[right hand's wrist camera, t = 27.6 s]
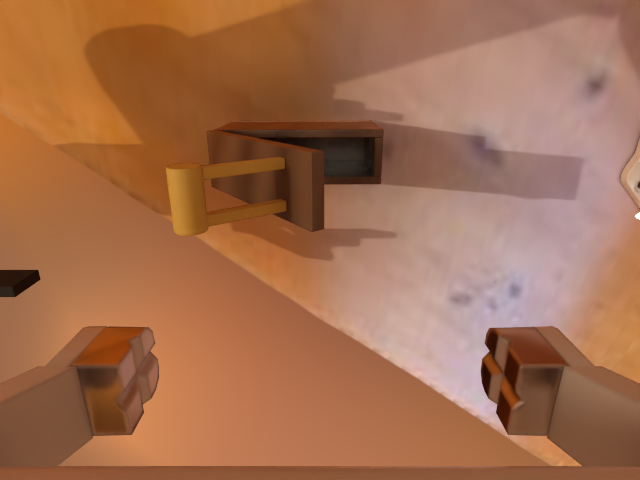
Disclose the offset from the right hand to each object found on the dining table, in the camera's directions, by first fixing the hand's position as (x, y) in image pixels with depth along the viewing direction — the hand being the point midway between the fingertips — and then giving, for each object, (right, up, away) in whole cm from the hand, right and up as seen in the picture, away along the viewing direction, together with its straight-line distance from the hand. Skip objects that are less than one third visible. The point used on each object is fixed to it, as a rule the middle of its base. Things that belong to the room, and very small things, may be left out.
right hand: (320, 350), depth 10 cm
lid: (-4, +8, +21) cm, 23 cm away
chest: (-2, +13, +37) cm, 39 cm away
